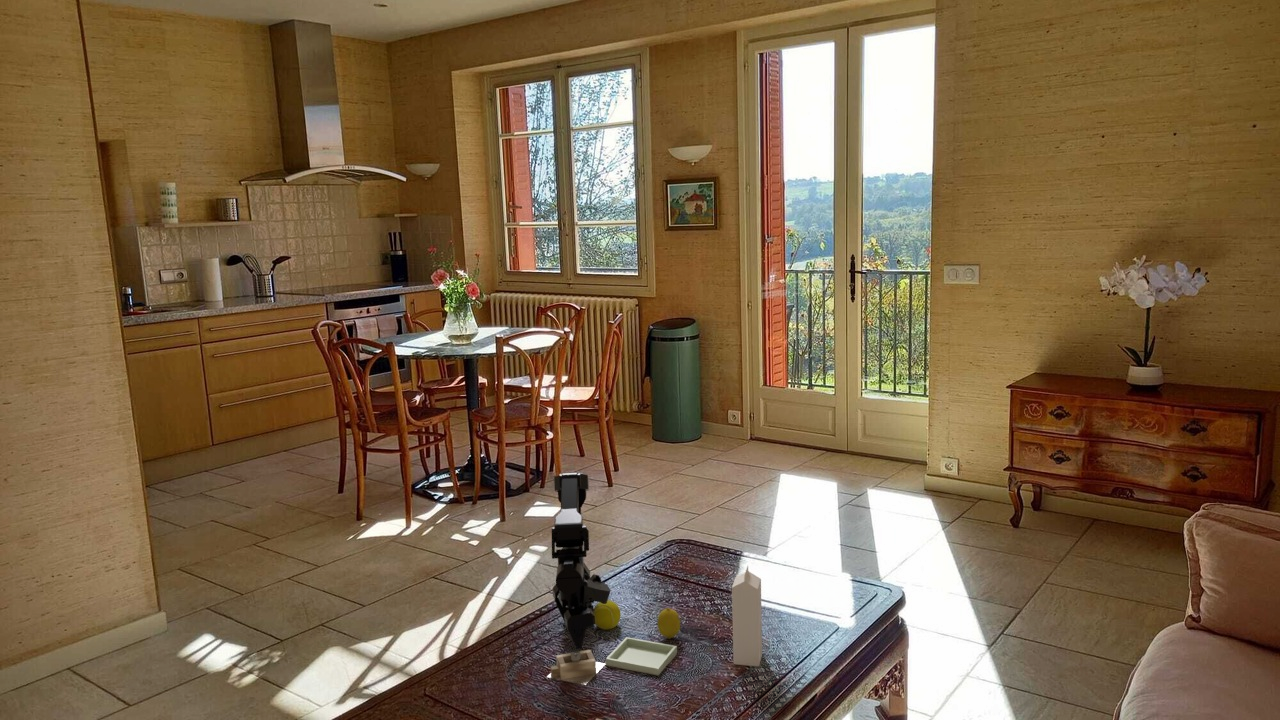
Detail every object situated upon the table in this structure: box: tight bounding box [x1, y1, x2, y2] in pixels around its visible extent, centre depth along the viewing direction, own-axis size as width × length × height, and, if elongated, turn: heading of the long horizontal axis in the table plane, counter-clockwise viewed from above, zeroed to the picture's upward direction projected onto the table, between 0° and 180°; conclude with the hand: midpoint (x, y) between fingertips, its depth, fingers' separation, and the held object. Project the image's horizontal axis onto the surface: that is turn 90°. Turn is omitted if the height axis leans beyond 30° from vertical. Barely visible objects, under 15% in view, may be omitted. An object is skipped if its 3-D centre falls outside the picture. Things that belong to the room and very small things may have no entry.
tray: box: [605, 636, 678, 676], centre depth 212 cm, size 13×11×2 cm
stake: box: [546, 650, 606, 686], centre depth 208 cm, size 10×10×5 cm
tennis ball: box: [593, 599, 622, 630], centre depth 228 cm, size 7×7×7 cm
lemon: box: [657, 607, 681, 640], centre depth 221 cm, size 6×6×8 cm
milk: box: [731, 565, 763, 667], centre depth 209 cm, size 6×6×22 cm
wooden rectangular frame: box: [550, 649, 597, 679], centre depth 207 cm, size 10×6×3 cm, turn 106°
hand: (574, 639), depth 207 cm, fingers open, 9 cm apart
